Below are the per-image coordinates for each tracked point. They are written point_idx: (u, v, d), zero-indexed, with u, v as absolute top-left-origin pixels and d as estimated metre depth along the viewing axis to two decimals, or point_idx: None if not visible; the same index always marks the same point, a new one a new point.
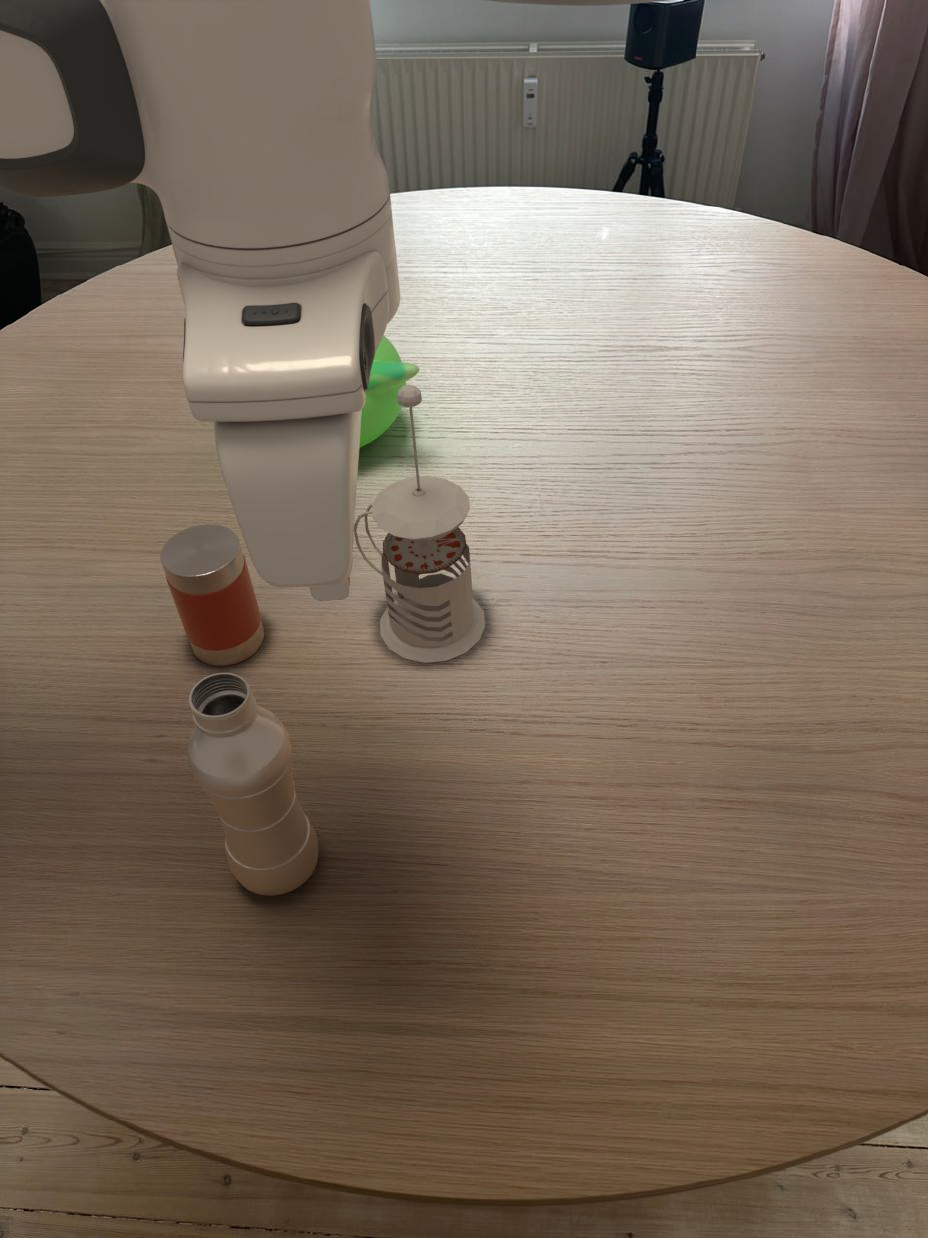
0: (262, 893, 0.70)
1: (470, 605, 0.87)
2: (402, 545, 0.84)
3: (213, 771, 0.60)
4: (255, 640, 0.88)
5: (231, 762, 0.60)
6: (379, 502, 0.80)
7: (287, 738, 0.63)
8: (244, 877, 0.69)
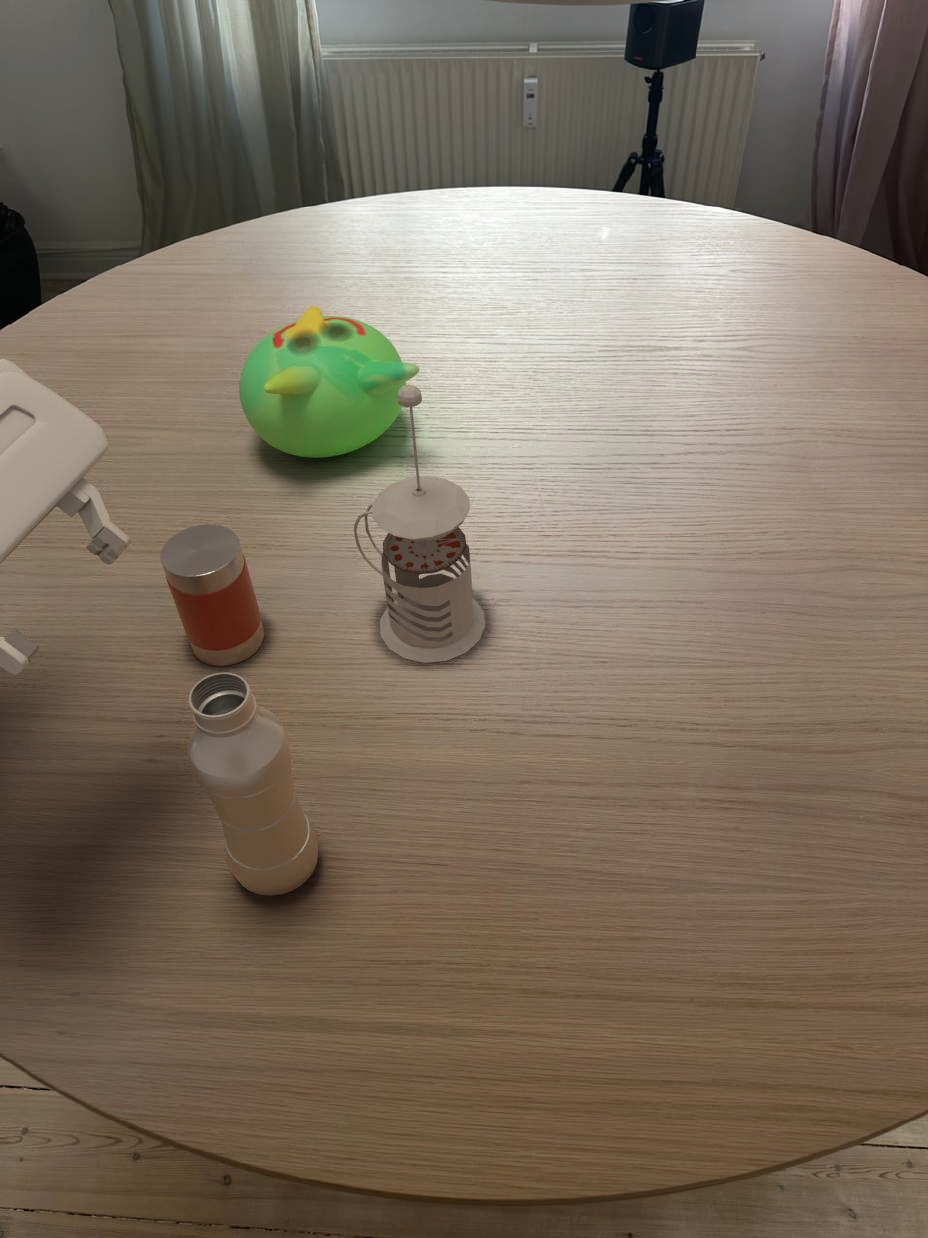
0: (262, 893, 0.70)
1: (470, 605, 0.87)
2: (402, 545, 0.84)
3: (213, 771, 0.60)
4: (255, 640, 0.88)
5: (230, 762, 0.60)
6: (379, 502, 0.80)
7: (287, 738, 0.63)
8: (244, 877, 0.69)
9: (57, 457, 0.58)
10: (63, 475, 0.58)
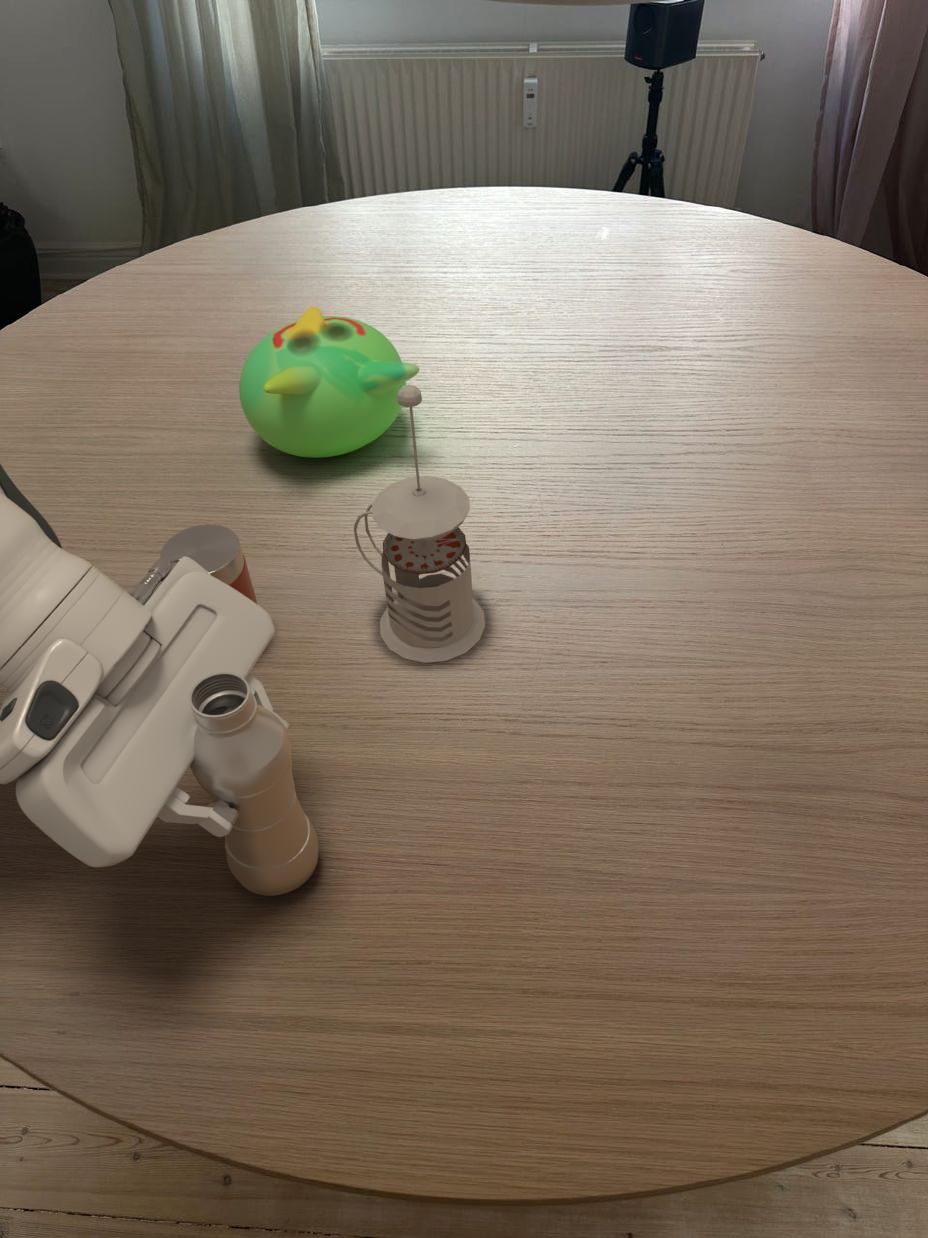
0: (263, 893, 0.70)
1: (470, 605, 0.87)
2: (402, 545, 0.84)
3: (213, 771, 0.60)
4: None
5: (231, 762, 0.60)
6: (379, 502, 0.80)
7: (287, 738, 0.63)
8: (244, 877, 0.69)
9: (236, 649, 0.65)
10: (242, 665, 0.65)
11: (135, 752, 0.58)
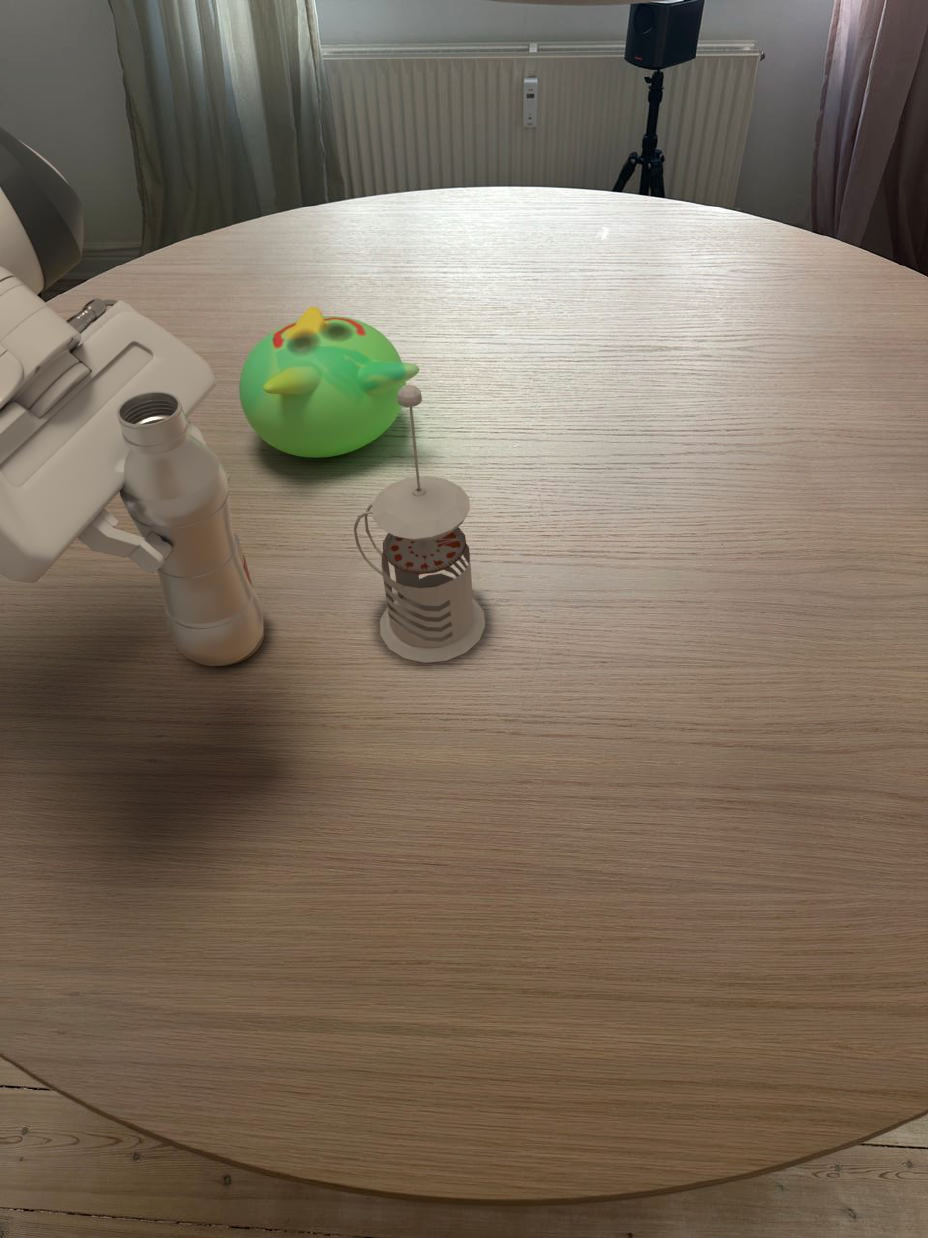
0: (204, 660, 0.68)
1: (470, 605, 0.87)
2: (402, 545, 0.84)
3: (143, 495, 0.58)
4: None
5: (161, 483, 0.57)
6: (379, 502, 0.80)
7: (223, 471, 0.60)
8: (184, 640, 0.66)
9: (173, 390, 0.63)
10: None
11: (59, 465, 0.56)
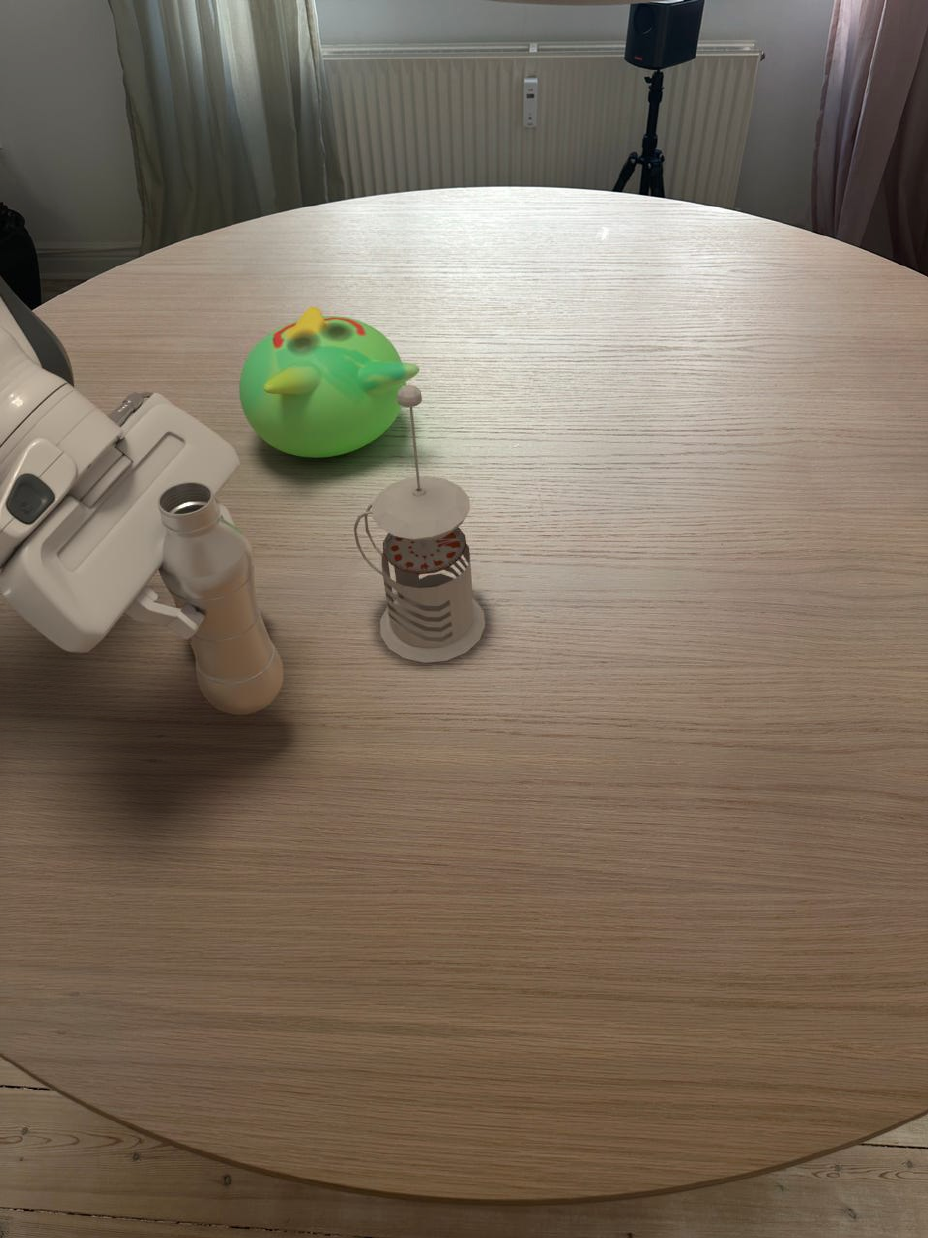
0: (231, 710, 0.76)
1: (470, 605, 0.87)
2: (402, 545, 0.84)
3: (180, 572, 0.66)
4: None
5: (196, 563, 0.65)
6: (379, 502, 0.80)
7: (249, 549, 0.68)
8: (213, 693, 0.74)
9: (203, 474, 0.71)
10: None
11: (107, 550, 0.64)
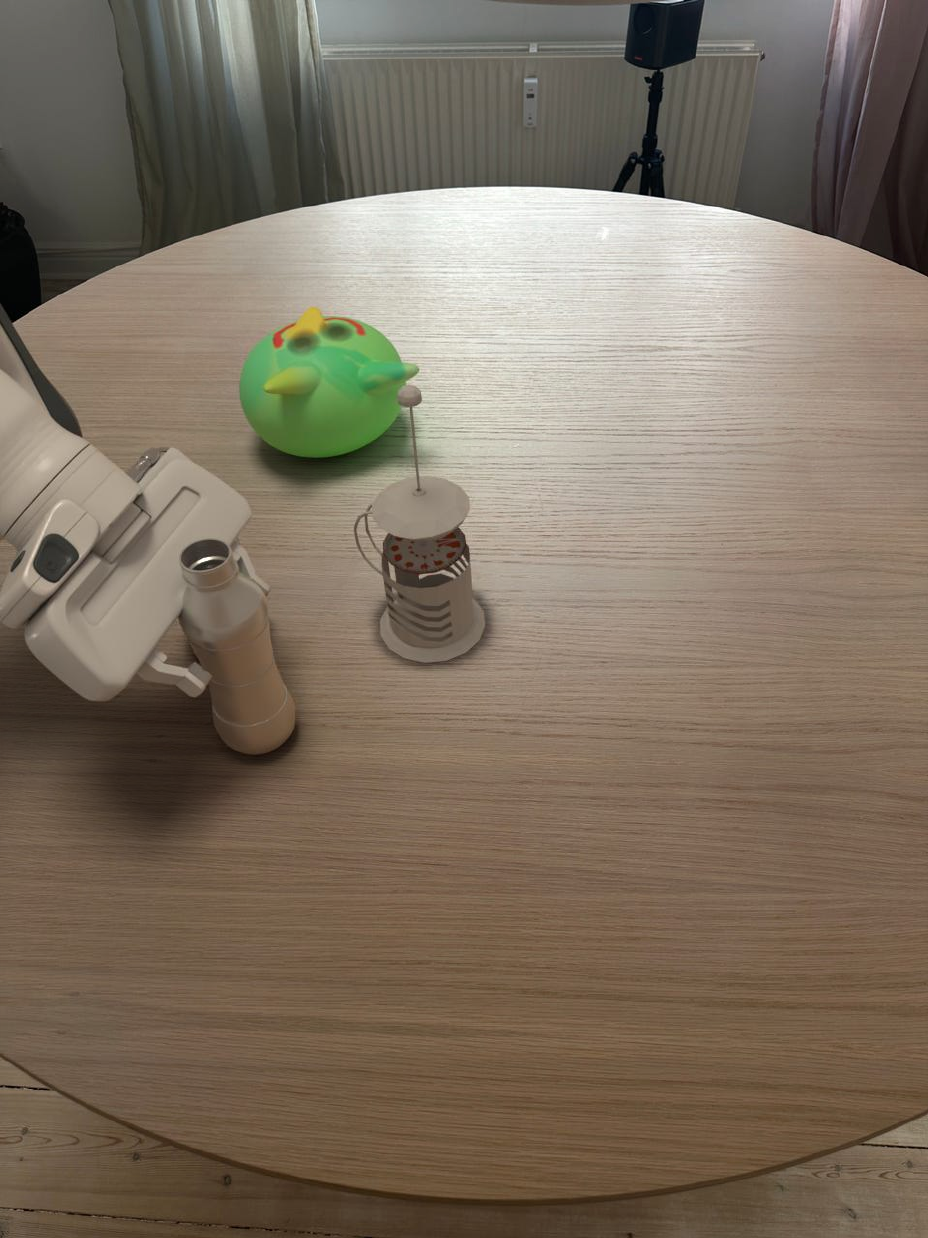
0: (245, 751, 0.79)
1: (470, 605, 0.87)
2: (402, 545, 0.84)
3: (199, 624, 0.69)
4: None
5: (215, 616, 0.69)
6: (379, 502, 0.80)
7: (265, 600, 0.72)
8: (228, 734, 0.78)
9: (217, 526, 0.74)
10: (222, 540, 0.74)
11: (127, 603, 0.67)
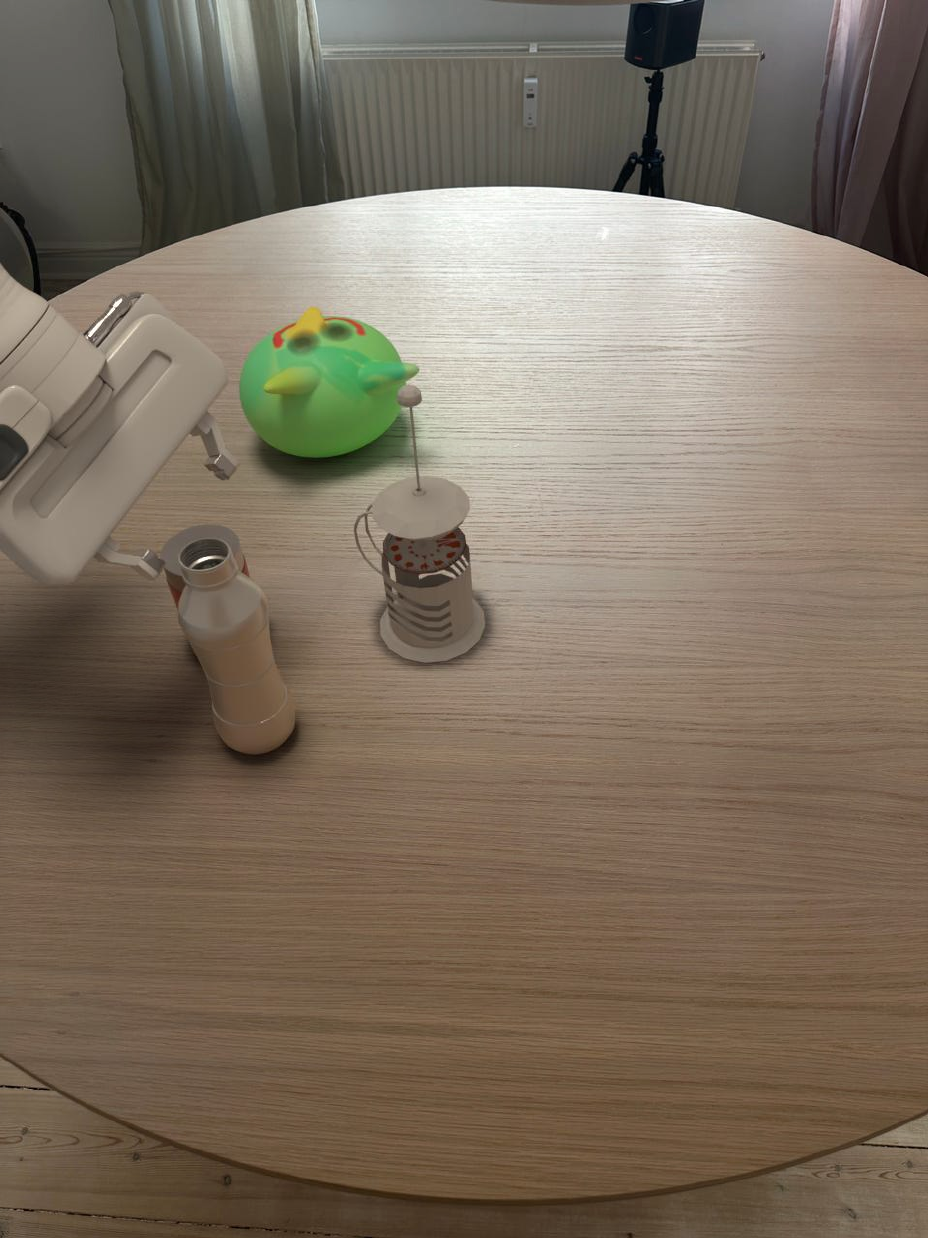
0: (245, 751, 0.79)
1: (470, 605, 0.87)
2: (402, 545, 0.84)
3: (199, 623, 0.69)
4: None
5: (214, 615, 0.69)
6: (379, 502, 0.80)
7: (264, 600, 0.72)
8: (228, 734, 0.78)
9: (187, 398, 0.69)
10: (191, 415, 0.69)
11: (81, 492, 0.65)
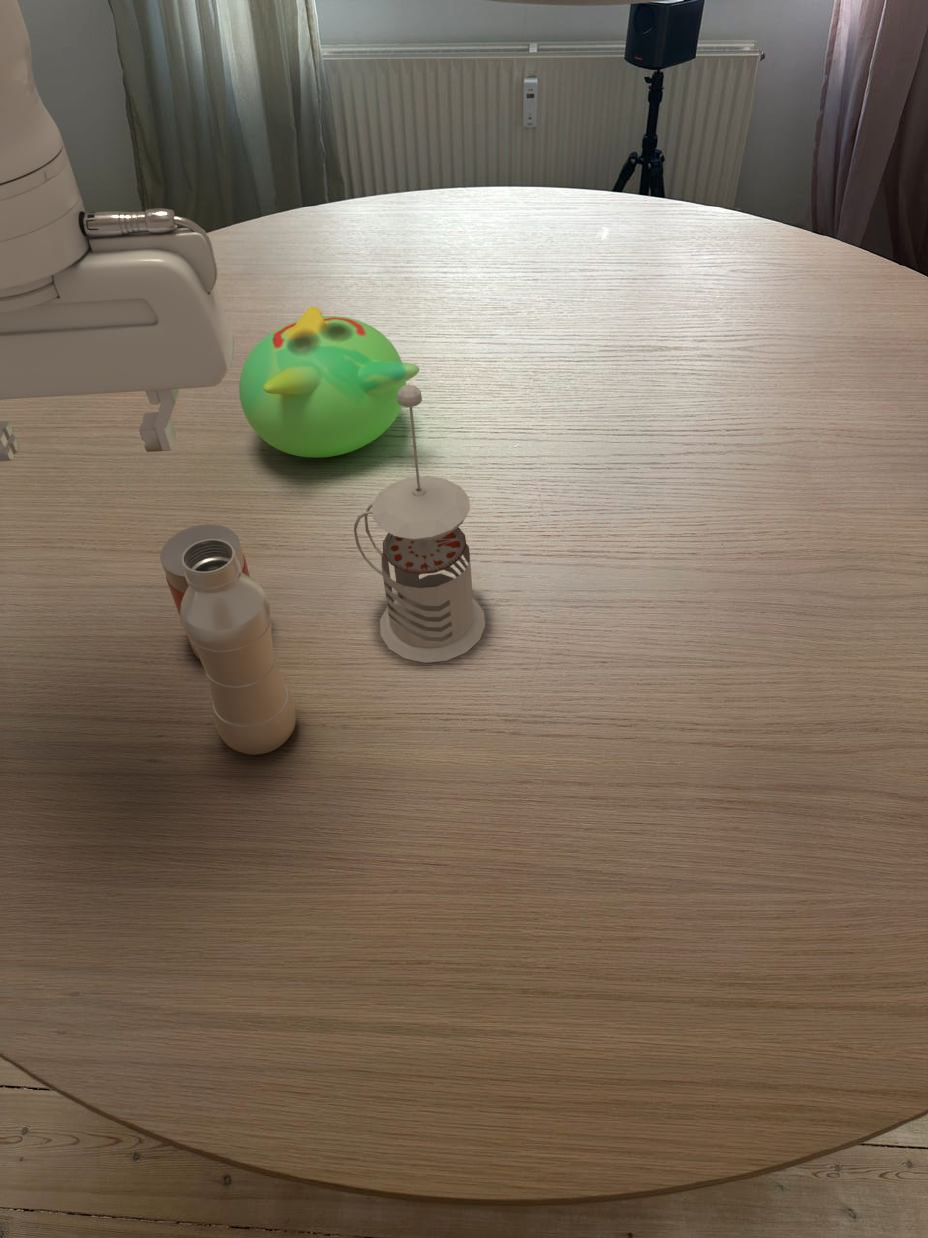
0: (245, 751, 0.79)
1: (470, 605, 0.87)
2: (402, 545, 0.84)
3: (201, 625, 0.69)
4: None
5: (217, 616, 0.69)
6: (379, 502, 0.80)
7: (267, 602, 0.72)
8: (229, 734, 0.78)
9: (146, 365, 0.52)
10: (137, 382, 0.53)
11: None
